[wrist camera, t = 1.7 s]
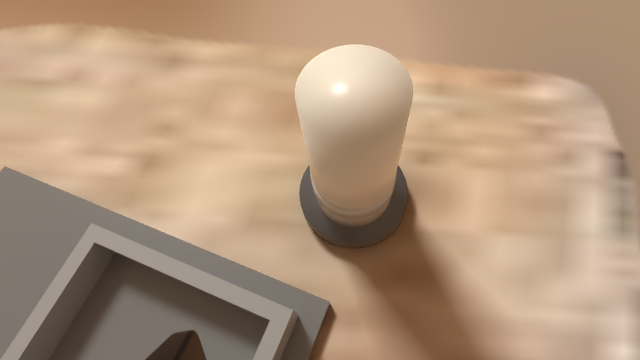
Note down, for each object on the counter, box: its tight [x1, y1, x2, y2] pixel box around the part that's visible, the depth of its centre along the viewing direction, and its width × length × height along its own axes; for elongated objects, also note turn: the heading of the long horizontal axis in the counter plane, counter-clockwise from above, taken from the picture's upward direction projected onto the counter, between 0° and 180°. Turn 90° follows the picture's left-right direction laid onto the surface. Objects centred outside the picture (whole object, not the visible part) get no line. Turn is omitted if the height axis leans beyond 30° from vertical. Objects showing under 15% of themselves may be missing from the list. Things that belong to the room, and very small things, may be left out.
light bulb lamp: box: [295, 45, 413, 248], centre depth 19 cm, size 6×6×10 cm
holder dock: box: [0, 167, 330, 360], centre depth 20 cm, size 22×14×3 cm, turn 67°
